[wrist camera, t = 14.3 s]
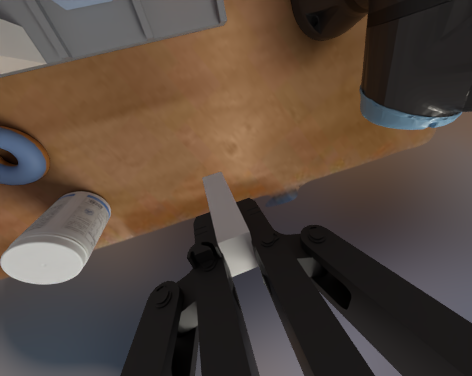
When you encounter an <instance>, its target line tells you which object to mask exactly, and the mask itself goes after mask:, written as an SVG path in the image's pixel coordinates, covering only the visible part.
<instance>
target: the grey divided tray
mask: <svg viewBox="0 0 472 376" xmlns="http://www.w3.org/2000/svg"><path fill="white" fill-rule="evenodd" d="M0 19H2V20H5V21H8V22H10V23H13V24H16V25H18V26H21V27H23V29H24V30H25V32H26V33H27V35H28V36H29V38H30V39H31V41H32V42H33V44H34V45H35V47H36V48H37V50H38V51H39V53H40V54H41V56H42V57H43V59H44V60H45V62H46V63H47V64H44V65H39V66H35V67H31V68H26V69H22V70H18V71H13V72H9V73H5V74H0V77H5V76H9V75H13V74H18V73H22V72H26V71H30V70H35V69H39V68H43V67H48V66H52V65H56V64H60V63H65V62H69V61H73V60H78V59H82V58H86V57H90V56H95V55H99V54H103V53H108V52H112V51H116V50H121V49H125V48H129V47H133V46H138V45H142V44H146V43H151V42H155V41H159V40H163V39H168V38H172V37H176V36H181V35H185V34H189V33H193V32H198V31H202V30H206V29H211V28H215V27H219V26H223V25H224V24H225V23H226V21H227V17H226V12H225V6H224V1H223V0H113V1H110V2H105V3H100V4H95V5H90V6H85V7H80V8H75V9H70V10H65V9H64V8H63V7H61V6H60V5H58V4H57V3H55V2H54V1H52V0H0Z"/></svg>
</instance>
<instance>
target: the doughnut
mask: <svg viewBox="0 0 472 376" xmlns="http://www.w3.org/2000/svg"><path fill="white" fill-rule="evenodd" d="M0 148H1V149H4V150H7V151H9V152H10V153H12V154H13V155H14V156H15V157H16V158H17V160H18V165H14V164H11V163H8V162H7V161H5V160H4V159H3V158H1V157H0V183H1V184H7V185H25V184H28V183H32V182H35V181H37V180H39V179H40V178H42V177H43V176H44V175H46V174H47V172H48V170H49V168H50V158H49V156H48V154H47V151H46V150H45V149H44V148H43V146H42V145H41V144H40V143H39V142H38V141H36V140H35V139H34V138H32V137H31V136H29V135H27V134H25V133H23V132H21V131H19V130H16V129H12V128H8V127H4V126H0Z"/></svg>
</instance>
